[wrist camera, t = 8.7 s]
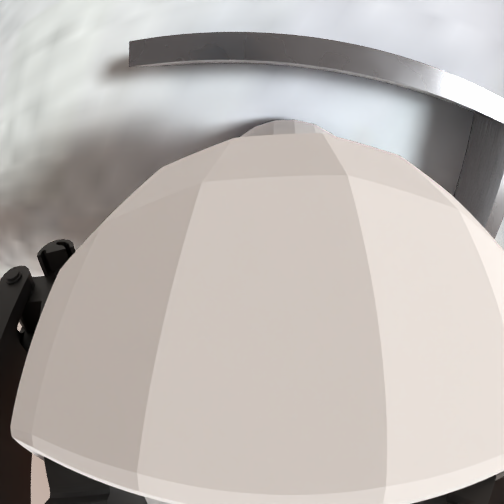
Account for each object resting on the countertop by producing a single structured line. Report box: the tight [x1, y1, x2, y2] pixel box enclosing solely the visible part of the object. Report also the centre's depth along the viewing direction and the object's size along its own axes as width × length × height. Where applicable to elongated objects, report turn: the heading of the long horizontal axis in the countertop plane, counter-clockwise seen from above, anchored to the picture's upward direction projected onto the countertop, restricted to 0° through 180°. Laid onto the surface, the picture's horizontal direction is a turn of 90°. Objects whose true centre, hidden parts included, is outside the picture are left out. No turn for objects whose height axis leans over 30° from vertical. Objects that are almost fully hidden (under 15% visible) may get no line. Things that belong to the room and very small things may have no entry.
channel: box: [129, 32, 504, 239], centre depth 15 cm, size 19×15×4 cm
